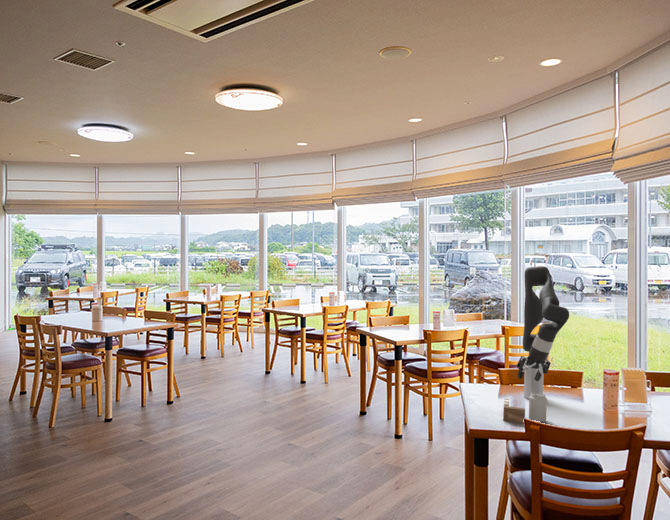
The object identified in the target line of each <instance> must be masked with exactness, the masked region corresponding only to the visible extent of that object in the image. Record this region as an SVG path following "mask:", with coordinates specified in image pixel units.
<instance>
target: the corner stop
mask: <svg viewBox="0 0 670 520" xmlns="http://www.w3.org/2000/svg"><path fill="white" fill-rule="evenodd" d="M525 416H526V408H524V407H516V406H510V399H509V398H504V401H503V416H502V417H503V420H502V421H504V422H511V423H518V422H519V423H520V422H521V423H520V424H524V423H523V419H524V418H525V419H526V417H525Z"/></svg>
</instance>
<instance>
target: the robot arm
mask: <svg viewBox="0 0 670 520" xmlns="http://www.w3.org/2000/svg"><path fill="white" fill-rule="evenodd" d="M523 275H524V305H523V306H524V309H523V313H524V314H523V319H524V321H523V322H524V323H523V324H524V325H523V334H522V335H523V336H522V349H523V350H524V351H525V352H528V356H524V355H521V356H520V358H519V360H518V362H517V363H516V366H515V367H516V369H518V373H517V374H516V375H517V378H518V379H519V380H522V379H524V381H523V382H524V383H523V384H524V385H523V397H524V399H527V400H529V396H530V395H531V393H542V394H544V376H545V375H547V374H548V371H549V369H550V367H551V364H552V363H551V362H550V360H549V359H548V357H549V354H550V351H551V349H552V347H553V345H554V344H553V343H554V341H555V338H556V337H557V335H558V333H559V331H560V330H561V329H562V328H563V327H564V326H565V324H566V323H567V322H568V320H569V319H570V311H569V309H568V308H567V307H564V306H560V300H559V298H558V297H557V296H558V295H557V294H556V292H555V288H554V283H553V280H552V275H551V272H550V269H549V268H548V267H547V266H543V265H542V266H534V267H533V266H530V267H526V268H525V270H524V274H523ZM541 286H542V288H541V290H540V291H539V294H538V295H539V297H538V295H537V294H536V293H535V292H534V289H533V287H541ZM544 319H545V320H546V321H550V322H551V323H542V324H541V325H540V326H539V329H538V332H537V334H533V333H532V332H533V330H535V329H536V327H537V326H538V325H539V324H540V323H541V322H543V320H544ZM523 376H524V378H523Z"/></svg>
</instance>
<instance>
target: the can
mask: <svg viewBox="0 0 670 520" xmlns="http://www.w3.org/2000/svg"><path fill="white" fill-rule="evenodd" d="M547 405H548V398H547V396H546V394H545V393H543V394H542V393H531V395H530V396H529V399H528V419H529V420H530V419H531V420H530V421H532V420H536V421H540V422H539V423H544V422H546V420H547V414H548V412H547V409H548V408H547Z"/></svg>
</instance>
